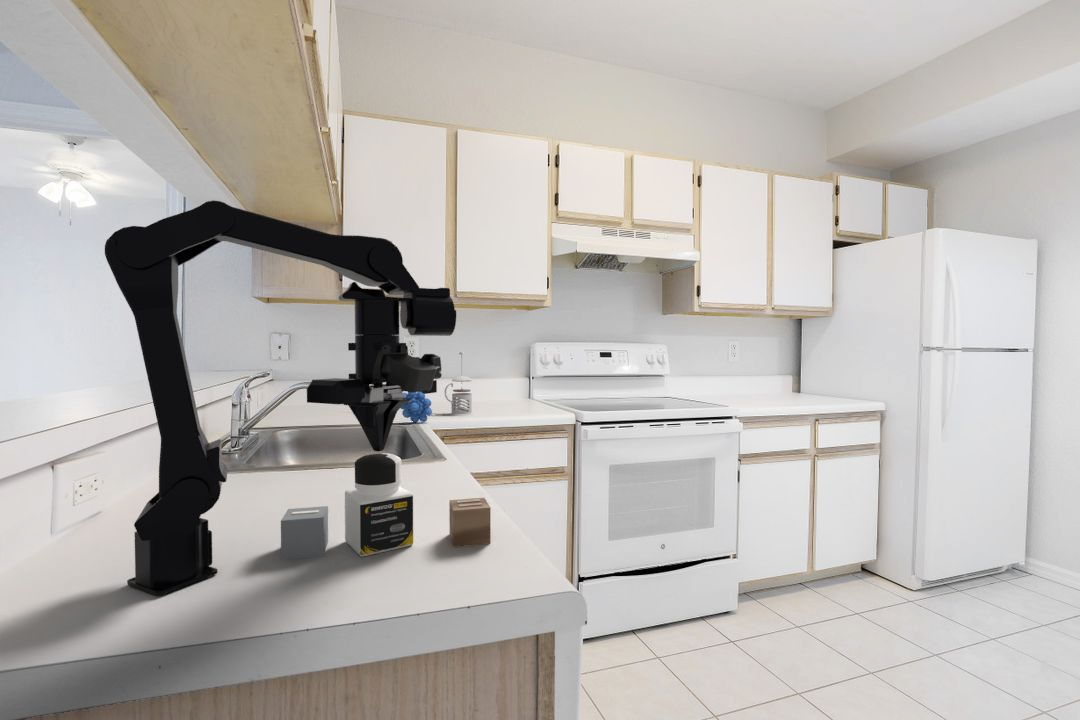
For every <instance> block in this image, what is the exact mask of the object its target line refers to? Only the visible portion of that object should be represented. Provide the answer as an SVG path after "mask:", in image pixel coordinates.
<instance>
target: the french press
mask: <svg viewBox="0 0 1080 720" xmlns="http://www.w3.org/2000/svg"><path fill="white" fill-rule="evenodd" d="M458 355H461V362H460V363H461V364H460V365H461V366H460V367H461V369H460V370H461V371H460V373H461V374H463V355H465V353H464V351H460V352H459V354H458ZM472 381H473V379H471V378H470V377H468V376H465V375H459V376H456V377H454V378H452V379H451V382H452V383H449V384H448V385H447V386H445V388H444V397H445V400H447V401H448V402H450V403H451V412H450V414H449V416H452V417H453V416H454V417H469V416H474V415H475V413H474V412H473V411H472V409H473V405H472V398H473V397H472V393H470V392H471V389H467V388H466V389H465V388H461V389H460V388H459V389H458V388H457V389H452V391H453V392H454V393H452V394H451V400H450V399H449V397H448V396H447V389H448V387H449V386H451V388H453V387H454V384H453V382H454V383H455V382H456V383H457V382H460V383H463V382H465V383H467V382H468V383H469V382H472ZM468 392H469V393H468Z"/></svg>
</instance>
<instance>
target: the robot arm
mask: <svg viewBox="0 0 1080 720" xmlns="http://www.w3.org/2000/svg"><path fill="white" fill-rule="evenodd" d="M222 242H227V243H231V244H235V245H240V246H243V247H248V248H250V249H251V248H253V249H256V250H260V251H262V252H263V251H264V252H268V253H272V254H276V255H280V256H284V257H288V258H292V259H295V260H296V259H297V260H299V261H304V262H307V263H311V264H316V265H318V266H319V265H320V266H322V267H325V268H327V269H330V270H331V271H333V272H336V273H338V274H339V275H341V276H343V277H345V278H347V279H350V280H352V281H353V282H351V283H349V286H348V287H347V289H346V290H344V292H342V293H341V294H340V295H338V300H339V301H341V302H354V342H347V348H348V350H347V351H353V352H354V357H355V359H354V360H355V361H354V363H355V365H354V367H355V371H354V373H348V378H339V377H338V378H337V377H336V378H335V377H334V378H321V379H312V380H311V381H310V383H309V384H308V386H307V388H306V403H309V404H311V403H312V404H323V405H324V404H326V405H343V406H348V408H350V410H351V412H352V413H353V415H354V417H355V419H356V420H357V421H358V424H359V425H360V427H361V428H362V431H363V433H364V434H365V436H366V438H367V440H368V442H369V444H370V446H371V448H372V450H373V451H374V452H377V453H378V452H381V451H382V452H383V451H385V448H386V443H387V441H388V438H389V435H390V432H391V429H392V426H393V423H394V419H395V418H396V415H397V413H398V412H399V410H401V407H402V406H403V405H404V404H405V403H407V402H410V400H411V398H404V393H405V392H407V393H408V392H411V393H417V392H422V394H425V395H426V394H427V395H428V394H435V393H438V391H437V390H438V388H437V387H438V386H437V385H438V384H437V383H438V382H437V381H438V379H441V378H442V375H443V374H442V361H441V356H439V355H438V354H437V355H436V354H435V353H424V354H423V355H422V357H419V356H412V355H410V354H409V352H408V351H409V348H408V347H409V346H408V345H407V343H406V342H400V325H401V328H403V329H407V332H408V334H409V335H410V336H416V337H417V336H419V337H420V336H430V337H433V336H437V337H439V336H442V337H444V336H445V337H449V336H452V335H453V333H454V331H455V328H456V324H457V310H456V307H455V304H454V301H453V298H452V297H451V289H450V288H449V287H438V288H429V287H427V288H426V287H420V286H419V284H418V283H417V282H416V280H415V279H414V277H413V276H412V275H411V273H410V272H409V270H408V269H407V267H406V266H405V265H404V261H403V260H404V259H403V255H402V253H401V251H400V250H399V247H398V246H397V244H395V243H394V242H393V241H391V240H389V239H386V238H382V237H375V236H366V235H353V234H352V235H346V234H345V235H344V234H343V235H342V234H333V233H332V234H331V233H328V232H324V231H321V230H317V229H313V228H309V227H306V226H302V225H299V224H295V223H291V222H288V221H284V220H280V219H277V218H274V217H270V216H267V215H264V214H263V215H262V214H259V213H256V212H252V211H248V210H245V209H241V208H238V207H235V206H231V205H230V204H227V203H226V202H224V201H220V200H208V201H205V202H204V203H202V204H201V205H199V206H196V207H195V208H192V209H190V210H186V211H183V212H180V213H177V214H173V215H170V216H168V217H164V218H162V219H159V220H158V221H157V220H156V222H153V223H151V224H149V225H146V226H138V225H131V226H125V227H121V228H120V229H118V230H116V231H114V232H113V233H112V234H111V236H110V237H109V238H107V239H106V241H105V244H104V256H105V258H106V262H107V264H108V266H109V269H110V270H111V273H112V275H113V276H114V277H113V278H114V280H115V282H116V284H117V285H118V288H119V290H120V292H121V293H122V295H123V297H124V299H125V301H126V303H127V305H128V306H129V309H130V310H131V312H132V314H133V317H134V321H135V325H136V330H137V334H138V335H137V336H138V340H139V344H140V348H141V352H142V353H141V354H142V357H143V362H144V366H145V371H146V376H147V379H148V380H147V381H148V384H149V389H150V394H151V399H152V403H153V404H152V405H153V408H154V412H155V417H156V423H157V426H158V431H159V435H160V447H159V448H160V449H159V450H160V452H159V463H158V465H159V466H158V492H157V493H156V494H155V495H154V496H153V497H152V498H150V499H149V500H148V501H147V502H146V503H145V505H144V507H143V509H142V511H141V512H140V514H139V516H138V517H137V518H136V520H135V522H134V524H133V526H134V529H135V530H136V531H134V573H135V574H134V575H135V577H131V578H128V580H126V583H127V586H130V587H132V588H136V589H139V590H140V591H144V592H146V593H149V594H152V595H155V596H162V595H166V594H169V593H171V592H174V591H176V590H179V589H181V588H183V587H186V586H189V585H192V584H194V583H197V582H199V581H201V580H204V579H206V578H210V577H212V576H214V575H217V574H218V568H216V567H213V566H211V565H213V531H212V530H210V529H209V520H208V519H206V518H201V516H202V515H204V514H206V513H207V512H208V511H210V510H211V509H212V508H213V507H214V506H215V505H216V504H217V502H218V501H219V499H220V496H221V491H222V485H223V483H225V482H227V479H228V478H227V477H228V471H229V468H228V467H227V465H226V464H225V462H224V460H223V455H222V439H216V440H214V441H212V442H209V441H208V439H207V437H206V435H205V433H204V432H203V428H202V427H201V424H200V418H199V415H198V409H197V405H196V400H195V395H194V394H195V393H194V390H193V385H192V381H191V375H190V370H189V367H188V366H189V365H188V362H187V361H188V360H187V356H186V351H185V347H184V342H183V337H182V333H181V332H182V331H181V329H180V323H179V319H178V313H177V312H178V311H177V310H178V309H177V308H178V297H179V296H178V295H179V266H182V265H184V264H186V263H188V262H190V261H191V260H193V259H195V258H196V257H198V256H199V255H201V254H203V253H204V252H206V251H208V250H209V249H211V248H213V247H214V246H216V245H218V244H220V243H222ZM358 283H359V284H361V285H364V286H367V287H376V288H362V287H361V286H359V284H358ZM386 294H387V295H388V296H386ZM394 296H395V297H394ZM396 296H397V297H396ZM398 296H403V297H398Z"/></svg>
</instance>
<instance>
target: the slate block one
mask: <svg viewBox="0 0 1080 720" xmlns="http://www.w3.org/2000/svg"><path fill="white" fill-rule="evenodd" d="M328 543H329V506H328V505H323V506H312V507H311V506H310V507H297V508H296V507H295V508H288V509H287V510H286V512H285V514H283V516H282V518H281V519H280V560H282V561H283V560H291V559H300V558H310V557H311V558H312V557H320V556H322V557H323V556H325V553H326V550H327V546H328Z"/></svg>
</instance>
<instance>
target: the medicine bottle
mask: <svg viewBox="0 0 1080 720" xmlns="http://www.w3.org/2000/svg"><path fill="white" fill-rule="evenodd" d="M401 486H402V459H401V458H400V457H399V456H397V455H395V454H393V453H387V452H386V453H371V454H366V455H363V456H361V457H359V458H357V459H356V460H355V462H354V488H353V489H352V488H351V489H346V490H345V491H344V529H345V530H344V540H345V542H346V543H347V544H348V545H349V546H350V547H351V548H352V549H353V551H355V552H356V553H357V554H358V555H359V556H360V557H361V558H364V557H368V556H373V555H377V554H381V553H384V552H385V553H386V552H390V551H394V550H398V549H402V548H408V547H411V546H412V545H414V495H413V493H412V492H411V491H409V490H407V489H406V488H403V487H401Z"/></svg>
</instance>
